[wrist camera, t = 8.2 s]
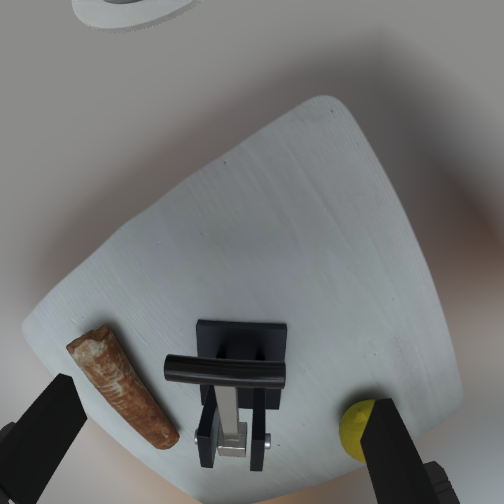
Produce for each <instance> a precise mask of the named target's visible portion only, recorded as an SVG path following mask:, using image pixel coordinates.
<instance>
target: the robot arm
mask: <svg viewBox="0 0 504 504" xmlns="http://www.w3.org/2000/svg"><path fill="white" fill-rule="evenodd" d="M103 1H106V2H108V3H113V4H128V3H134V2H139V1H143V0H103ZM86 420H87V416H86V414H85V411H84V409H83V406H82V404H81V401H80V398H79V396H78V393H77V390H76V387H75V385H74V382H73V379H72V377H71V376H68V375H64V374H61V373H59V374H58V375H57V376H56V377H55V379H54V380H53V381H52V382H51V383H50V384H49V385H48V386H47V388H46V389H45V390H44V391H43V392H42V393H41V395H40V396H39V397H38V398H37V399H36V400H35V401H34V402H33V404H32V405H31V406H30V407H29V408H28V410H27V411H26V412H25V413H24V414H23V415H22V417H21V418H20V419H19V421H17V423H14V422H11V423H9V424H7V425H6V426H4V427H3V428H2V429H1V430H0V504H9V502H8V501H9V499H11V500H12V501H13V502H14V503H15V504H36V503H37V501H38V499H39V498H40V496H41V494H42V492H43V491H44V489H45V487H46V485H47V484H48V482H49V480H50V479H51V477H52V475H53V474H54V472H55V470H56V468H57V467H58V465H59V464H60V462H61V460H62V459H63V457H64V455H65V454H66V452H67V450H68V449H69V447H70V445H71V444H72V442H73V441H74V439H75V438H76V436H77V434H78V433H79V431H80V430H81V428H82V426H83V425H84V423H85V422H86ZM360 444H361V448H362V451H363V454H364V457H365V461H366V464H367V467H368V471H369V474H370V477H371V481H372V484H373V488H374V491H375V495H376V498H377V502H378V504H460V502H459V500H458V498H457V496H456V494H455V492H454V489H452V485H451V483H450V481H448V477H447V475H446V473H445V471H444V469H443V468H442V467H441V466H440V465H439V464H438V463H437V462H435V461H432V462H429V463H425V464H423V463H422V460H421V458H420V456H419V454H418V452H417V450H416V448H415V446H414V444H413V441H412V439H411V437H410V435H409V433H408V431H407V429H406V427H405V425H404V423H403V420H402V418H401V416H400V414H399V412H398V410H397V408H396V406H395V404H394V402H393V400H392V398H389V399H381V400H375V402H374V405H373V408H372V411H371V413H370V416H369V419H368V421H367V424H366V427H365V429H364V432H363V434H362V437H361V439H360Z"/></svg>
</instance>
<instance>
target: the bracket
mask: <svg viewBox="0 0 504 504" xmlns="http://www.w3.org/2000/svg"><path fill="white" fill-rule="evenodd" d="M196 335H197V351H198V357H204V358H217V359H232V360H252V361H284V359H285V349H286V338H287V325H286V324H265V323H240V322H222V321H206V320H198V322H197V324H196ZM200 391H201V403H202V405H204V407H203V411H202V415H201V419H200V423H199V427H198V429H196V431H195V438H194V440H195V444H198V451H199V457H200V464H201V467H205V468H213V464H214V458H215V452H216V447H217V437H218V428H219V421H221V420H220V415H219V410H218V404H217V399H216V394H215V388H214V386H211V385H200ZM237 391H238V408H244V409H253V420H252V440H251V460H250V471H262V470H263V460H264V450H265V449H270V445H271V434H270V433H265V409H273V410H279V405H280V396H281V389H263V388H240V387H237Z"/></svg>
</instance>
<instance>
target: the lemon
mask: <svg viewBox="0 0 504 504" xmlns="http://www.w3.org/2000/svg"><path fill="white" fill-rule="evenodd" d="M375 400H377V399H370V400H365V401H360V402H357V403H355V404H354V405H352V406H351V407H350V408H349V409H348V410H347V411H346V412H345V413H344V415H343V418H342V420H341V423H340V428H339V435H340V440H341V444H342V446H343V448H344V450H345V451H346V453H347V454H348V455H350V456H351V457H352V458H354V459H356V460H358V461H359V462H362V463H366V461H365V457H364V454H363V451H362V448H361V444H360V439H361V437H362V434H363V432H364V429H365V427H366V424H367V421H368V419H369V416H370V413H371V411H372V408H373V405H374V402H375Z"/></svg>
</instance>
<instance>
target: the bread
mask: <svg viewBox="0 0 504 504" xmlns="http://www.w3.org/2000/svg"><path fill="white" fill-rule="evenodd" d="M66 349H67V350H68V352H69V353H70V355H71V356H72V358H73V359H74V361H75V362H76V364H77V365H78V366H79V368H80V369H81V370H82V371H83V373H84V374H85V375H86V377H87V378H88V379H89V381H90V382H91V383H92V384H93V385H94V386H95V388H96V389H97V390H98V391H99V392H100V393H101V394H102V395H103V397H104V398H105V399H106V400H107V402H108V403H109V404H110V405H111V406H112V407H113V408H114V409H115V410H116V411H117V412H118V413H119V414H120V415H121V416H122V417H123V418H124V419H125V420H126V421H127V422H128V423H129V424H130V425H131V426H132V427H133V428H134V429H135V430H136V431H137V432H138V433H139V434H140V435H141V436H142V437H144V438H145V439H146V440H147V441H148V442H149V443H151V444H152V445H153V446H154V447H155V448H157V449H163V450H165V449H169V448H171V447H172V446H174V445H175V444H176V443H177V442H178V440H179V438H180V435H179V433H178V432H177V431H176V429H175V428H174V427H173V426H172V425H171V423H170V422H169V421H168V419H167V418H166V416H165V415H164V413H163V411H162V410H161V409H160V407H159V406H158V404H157V403H156V402H155V400H154V399H153V397H152V396H151V395H150V393H149V392H148V390H147V389H146V387H145V386H144V385H143V383H142V382H141V380H140V379H139V377H138V375H137V374H136V372H135V371H134V369H133V367H132V366H131V364H130V362H129V360H128V358H127V357H126V355H125V354H124V352H123V350H122V348H121V347H120V344H119V343H118V341H117V339H116V338H115V336H114V334H113V333H112V331H111V329H110V328H109V326H108V325H104V326H102V327H101V328H100V329H98V330H96V331H94V330H91V331H89V332H88V333H86V334H84V335H82V336H81V337H79V338H77V339H75V340H73V341H72V342H71V343H70V344H68V345H67V346H66Z"/></svg>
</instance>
